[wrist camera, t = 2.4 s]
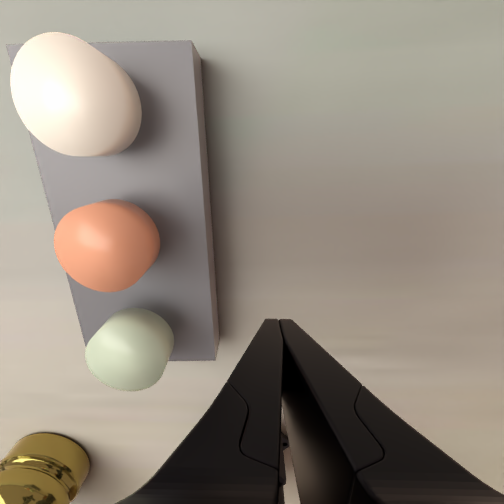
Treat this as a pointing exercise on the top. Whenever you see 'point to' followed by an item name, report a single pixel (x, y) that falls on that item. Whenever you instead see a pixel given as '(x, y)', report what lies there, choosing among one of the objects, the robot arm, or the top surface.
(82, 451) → the gold metal figurine
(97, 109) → the cream button
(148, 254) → the terracotta button
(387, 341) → the top surface
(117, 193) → the button panel
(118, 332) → the sage button
